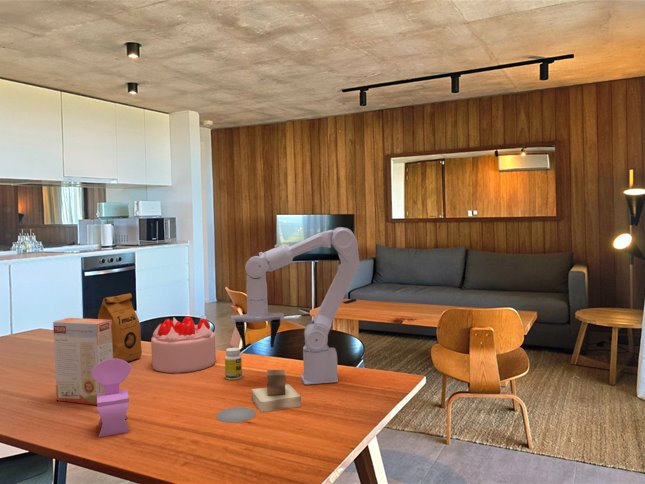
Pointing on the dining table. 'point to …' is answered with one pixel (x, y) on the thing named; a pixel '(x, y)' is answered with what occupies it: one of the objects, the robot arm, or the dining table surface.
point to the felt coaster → (235, 414)
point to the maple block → (276, 399)
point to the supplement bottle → (233, 364)
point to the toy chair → (112, 396)
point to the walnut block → (275, 382)
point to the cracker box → (80, 357)
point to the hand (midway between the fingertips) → (258, 347)
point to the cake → (183, 346)
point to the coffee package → (122, 327)
